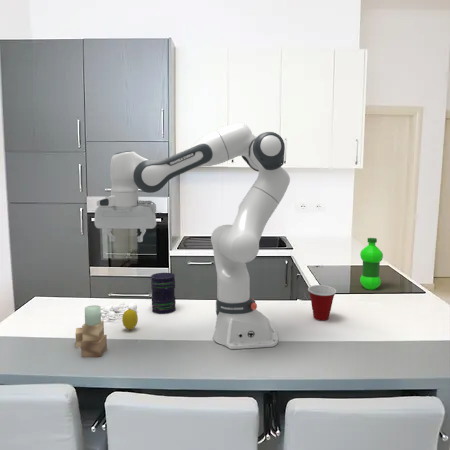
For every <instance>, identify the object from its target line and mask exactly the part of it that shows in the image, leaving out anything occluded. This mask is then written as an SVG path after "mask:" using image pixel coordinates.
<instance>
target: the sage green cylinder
mask: <svg viewBox="0 0 450 450" xmlns="http://www.w3.org/2000/svg"><path fill="white" fill-rule="evenodd" d="M101 319H102V317H101V307H100V305H98V304H97V305H95V304H94V305H87V306H85V307H84V324H85V325H88V326H95V325H99V324H100V323H101Z"/></svg>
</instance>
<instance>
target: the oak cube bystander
mask: <svg viewBox="0 0 450 450" xmlns="http://www.w3.org/2000/svg"><path fill="white" fill-rule="evenodd" d="M82 340H83V335H82V327H76V328H75V343H76V344H75V348H76V349H80V348H81V341H82ZM79 347H80V348H79Z"/></svg>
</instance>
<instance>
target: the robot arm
mask: <svg viewBox="0 0 450 450" xmlns="http://www.w3.org/2000/svg"><path fill="white" fill-rule="evenodd" d="M285 148H286V147H285V141H284V139H283V138H282V137H281V135H279V134H278V133H276V132H274V131H265V132H262V133H260V134H258V135H257V136H255V135H254V134H253V133H252V130H251V128H250V127H249V126H248V125H247V124H245V123H242V122H237V123H233V124H229V125H226V126H222V127H220V128H217V129H215V130H213V131H211V132H209V133H207V134H205V135H203V136H202V137H201V138H199V139H198V140H197V141H195V142H194V143H193V145H191V146H190V147H189V148H187V149H185V150H183V151H180V152H178V153H176V154H173V155H171V156H168V157H166V158H164V159H147V158H146V157H143V156H141V155H139V154H138V153H137V152H135V151H134V150H123V151H119V152H116V153H114V154H113V155H112V157H111V159H110V168H109V169H110V172H109V174H110V175H109V177H110V178H109V179H110V182H111V188H110V196H105V197H103V198H100V199H97V200H96V206H97V207H96V208H95V210H94V220H93V221H94V226H95V228H96V229H105V233H106V234H107V236H108V239H109V243H112V242H113V243H114V242H116V235H113V234H112V231H113V230H112V229H133V230H135V229H137V230H139V231H140V232H141V233H140V235H138V236H137V237H136V239H137V243H143V241H144V235H145V234H146V232H147V229H154V228H155V227H157V216H156V212H157V205H156V203H155V202H154V201H153V200H139V190H141V191H142V192H144V193H148V194H149V193H150V194H151V193H152V194H153V193H156V192H159V191H161V190H162V188H164V187H165V186H166V185H167V184H168V182H169V181H170V180H172V179H174V178H175V177H178V176H180V175H182V174H184V173H186V172H189V171H192V170H193V169H194V170H195V169H196V168H201V167H203V168H204V167H212V166H217V165H221V164H223V163H226V162H228V161H230V160H232V159H234V158H236V157H241V158H242V160H244V162H245V163H246V164H247V165H248V166H249V167H250V168H251V169H252V170H253V171H255V172H257V173H258V176H257V178H256V180H255V181H254V182H253V184H252V186H250V188H249V190H248V192H247V193H246V194H245V196H244V197H243V198H242V201H241V202H240V203H239V205H238V210H237V214H236V216H235V219H234V222H232V224H222V225H220V226H217V227H216V228H214V230H213V231H212V233H211V236H210V242H211V245H212V252H213V258H214V259H213V260H214V264H215V270H216V278H217V279H216V280H217V281H216V286H217V288H216V290H217V292H216V294H217V295H216V300H215V312H216V313H215V314H216V322H215V326H214V327H215V328H214V331H213V332H214V333H213V335H212V340H213V341H214V342H216V343H218V344H220V345H222V346H225V347H226V348H228V349H230V350H241V349H243V350H244V349H256V348H257V349H258V348H270V347H271V348H273V347H275V346H277V344H278V342H279V336H278V332H276V331H275V330H274V329H272V325H271V321H270V319H269V318H268V317H267V316H266V315H264V314H263V312H260V311H259V310H258V309H257V308H258V304H257V303H256V300H255V299H254V298H253V297H252V298H251V297H250V294H251V293H250V287H251V286H250V284H251V283H250V280H251V279H250V273H249V270H248V267H247V264H246V263H250V262H251V261H253V260H254V259H255V258H256V257H257V256H258V254H259V251H260V240H261V238H262V234H263V233H264V230H265V227H266V226H267V223H268V221H269V220H270V218H271V217H272V216H273V213H274V212H275V210H277V207H278V206H279V205H280V203H281V201H282V200H283V198H284V196H285V194H286V193H287V190H288V188H289V185H290V183H291V176H290V175H289V173H288V172H287V171H286V170H285V169H284V168H283V167H282V166H283V165H284V162H285V153H286V151H285V150H286V149H285Z"/></svg>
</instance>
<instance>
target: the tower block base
mask: <svg viewBox="0 0 450 450" xmlns="http://www.w3.org/2000/svg"><path fill="white" fill-rule="evenodd" d="M80 348H81V349H80V351H81V353H80V354H81V358H99V357H101V358H102V356H103V355H104V354H105V353H106V352H107V350H108V341H107V334H104V336H103V337H102V338H101V339H100V340H99V341H98V342H97V341H83V340H82V341H81V347H80ZM106 349H107V350H106ZM104 352H105V353H104ZM103 353H104V354H103Z"/></svg>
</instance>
